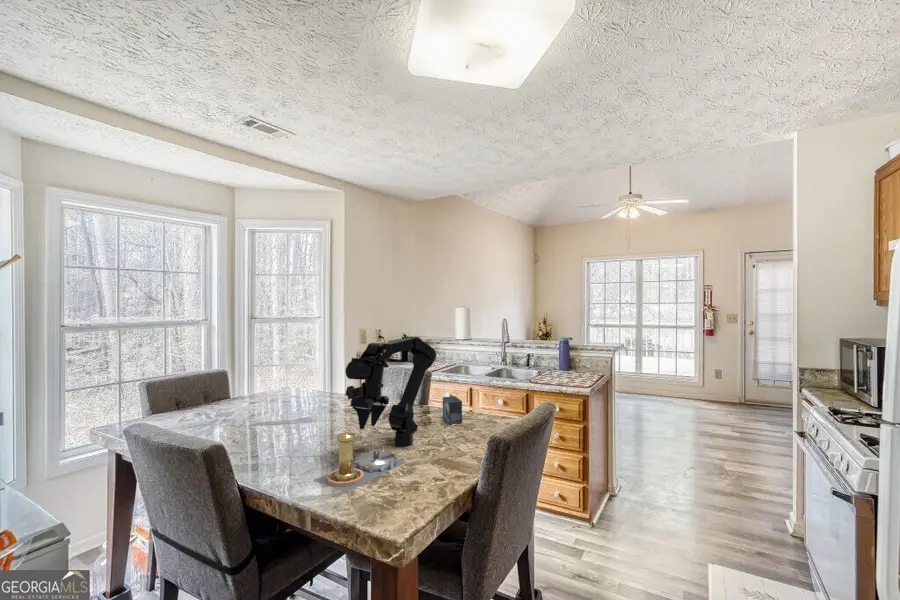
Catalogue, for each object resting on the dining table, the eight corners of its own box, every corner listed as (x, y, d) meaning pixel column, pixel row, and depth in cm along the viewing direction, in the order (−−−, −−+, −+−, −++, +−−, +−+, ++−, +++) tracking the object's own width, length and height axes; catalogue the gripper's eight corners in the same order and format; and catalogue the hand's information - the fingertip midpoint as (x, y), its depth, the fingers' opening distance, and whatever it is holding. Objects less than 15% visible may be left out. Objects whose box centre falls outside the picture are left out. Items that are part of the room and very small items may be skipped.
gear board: (375, 457, 143) (375, 450, 143) (407, 466, 135) (407, 458, 135) (313, 485, 121) (313, 476, 121) (346, 497, 113) (346, 488, 113)
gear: (375, 453, 142) (375, 442, 142) (405, 461, 135) (405, 449, 135) (345, 466, 131) (345, 453, 131) (377, 476, 124) (377, 462, 124)
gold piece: (353, 471, 127) (353, 429, 127) (361, 479, 121) (361, 435, 121) (330, 476, 123) (330, 433, 123) (337, 485, 117) (337, 439, 118)
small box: (441, 419, 189) (441, 396, 189) (455, 418, 191) (455, 395, 191) (448, 426, 179) (448, 402, 179) (462, 425, 181) (462, 400, 181)
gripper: (363, 377, 151) (357, 421, 149) (338, 377, 133) (331, 427, 131) (391, 380, 149) (386, 425, 147) (371, 381, 131) (364, 432, 129)
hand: (367, 427), depth 138 cm, fingers open, 9 cm apart
